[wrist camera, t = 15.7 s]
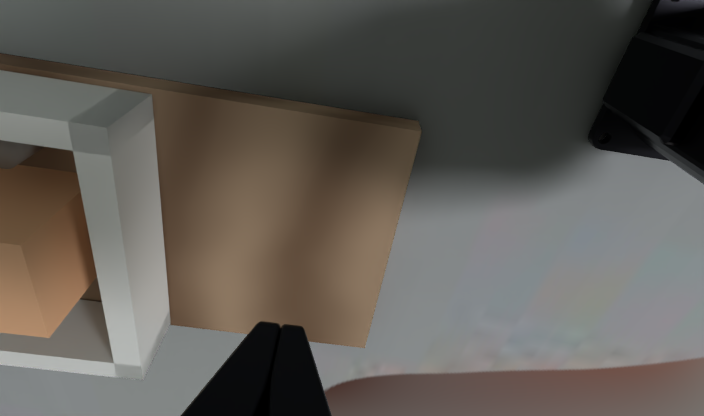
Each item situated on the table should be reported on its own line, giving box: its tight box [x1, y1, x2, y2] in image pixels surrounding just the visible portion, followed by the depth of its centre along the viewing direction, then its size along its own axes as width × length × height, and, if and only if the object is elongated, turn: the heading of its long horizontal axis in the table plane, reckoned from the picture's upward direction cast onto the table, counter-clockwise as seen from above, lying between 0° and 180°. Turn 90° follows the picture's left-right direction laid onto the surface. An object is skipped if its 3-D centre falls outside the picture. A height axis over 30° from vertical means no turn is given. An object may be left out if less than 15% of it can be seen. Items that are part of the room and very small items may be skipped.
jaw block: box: [0, 165, 97, 338], centre depth 17 cm, size 4×4×5 cm
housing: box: [0, 70, 171, 380], centre depth 18 cm, size 8×13×4 cm, turn 171°
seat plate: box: [0, 53, 422, 348], centre depth 20 cm, size 20×13×3 cm, turn 81°
